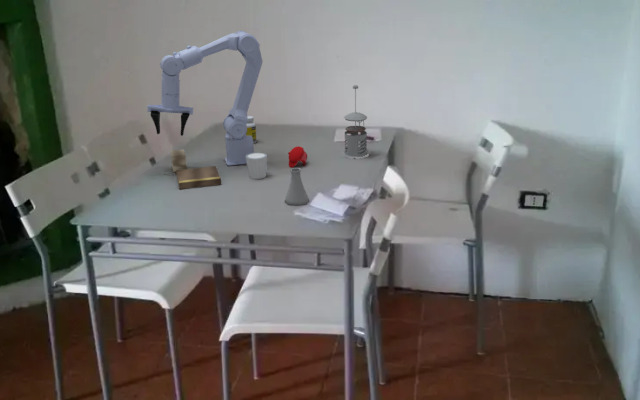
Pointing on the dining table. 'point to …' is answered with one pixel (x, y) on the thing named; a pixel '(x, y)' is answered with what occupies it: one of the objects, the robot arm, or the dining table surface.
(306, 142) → the dining table surface
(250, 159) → the shot glass
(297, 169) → the flask
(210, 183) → the dock
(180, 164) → the beige block
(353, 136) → the french press
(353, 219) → the dining table surface
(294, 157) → the cap
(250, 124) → the supplement bottle
